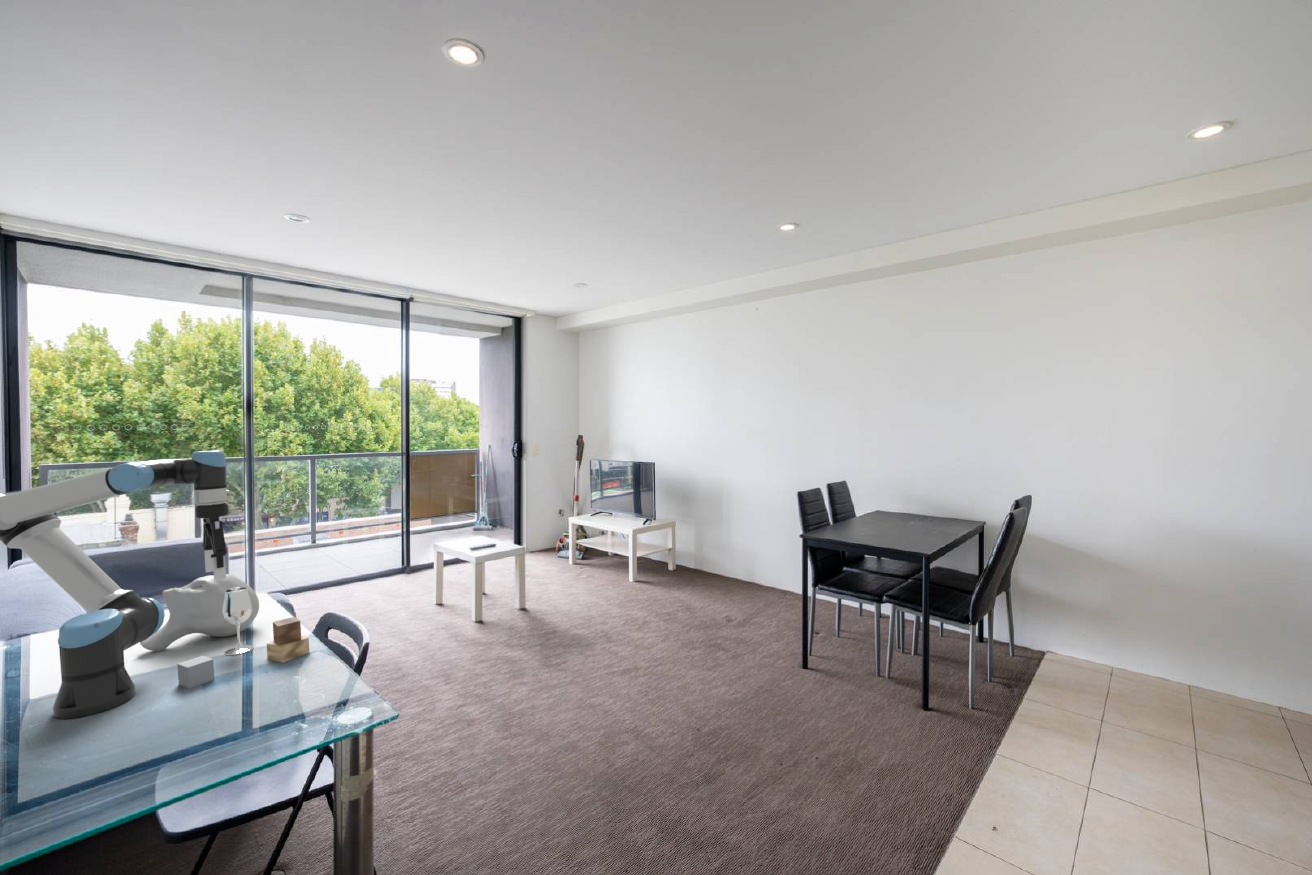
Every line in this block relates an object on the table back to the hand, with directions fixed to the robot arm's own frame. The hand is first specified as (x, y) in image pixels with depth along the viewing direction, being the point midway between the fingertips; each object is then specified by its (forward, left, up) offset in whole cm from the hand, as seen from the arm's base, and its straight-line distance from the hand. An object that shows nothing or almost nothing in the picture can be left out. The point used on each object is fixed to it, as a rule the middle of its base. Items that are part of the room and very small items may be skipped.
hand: (215, 575), depth 162 cm
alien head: (+1, +38, -29) cm, 48 cm away
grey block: (-6, -3, -29) cm, 30 cm away
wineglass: (+7, +15, -29) cm, 33 cm away
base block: (+16, -3, -29) cm, 33 cm away
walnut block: (+16, -2, -24) cm, 29 cm away
